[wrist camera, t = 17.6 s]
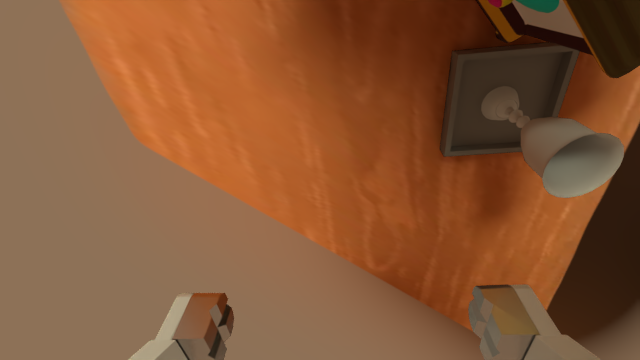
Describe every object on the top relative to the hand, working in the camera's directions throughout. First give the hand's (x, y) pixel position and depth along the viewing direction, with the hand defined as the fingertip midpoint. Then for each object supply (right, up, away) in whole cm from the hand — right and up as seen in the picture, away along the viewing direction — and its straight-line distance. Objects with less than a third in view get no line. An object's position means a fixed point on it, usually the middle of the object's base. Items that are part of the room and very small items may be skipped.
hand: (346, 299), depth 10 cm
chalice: (+25, +15, +35) cm, 46 cm away
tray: (+25, +16, +35) cm, 46 cm away
